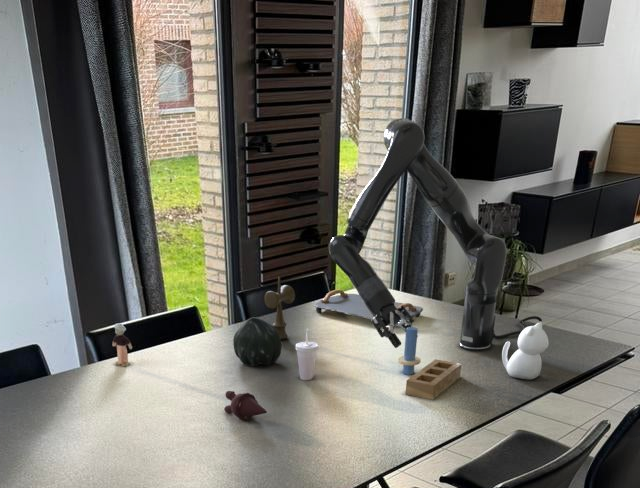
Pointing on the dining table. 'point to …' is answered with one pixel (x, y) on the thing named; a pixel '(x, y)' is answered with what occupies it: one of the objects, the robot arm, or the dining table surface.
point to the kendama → (280, 305)
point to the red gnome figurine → (243, 405)
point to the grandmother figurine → (121, 345)
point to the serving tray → (356, 305)
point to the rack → (433, 379)
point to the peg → (410, 351)
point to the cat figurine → (526, 353)
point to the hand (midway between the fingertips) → (407, 342)
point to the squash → (257, 342)
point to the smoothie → (306, 358)
